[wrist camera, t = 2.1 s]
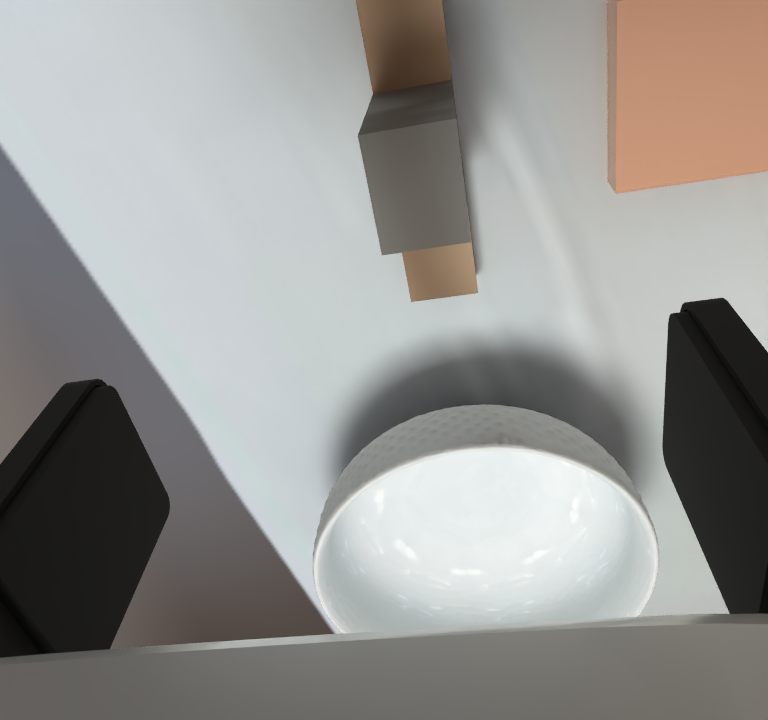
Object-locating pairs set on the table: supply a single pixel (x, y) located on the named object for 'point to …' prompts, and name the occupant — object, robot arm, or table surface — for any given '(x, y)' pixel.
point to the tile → (686, 91)
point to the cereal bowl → (482, 527)
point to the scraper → (415, 147)
